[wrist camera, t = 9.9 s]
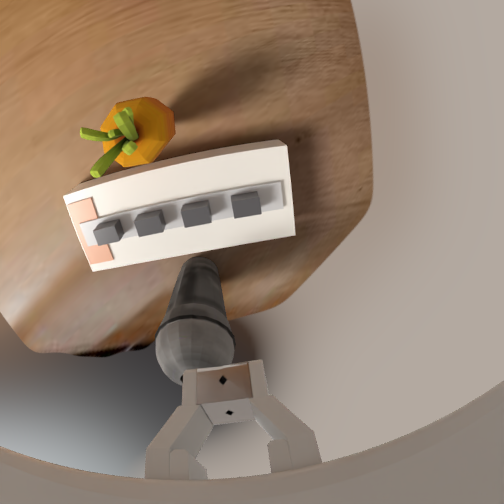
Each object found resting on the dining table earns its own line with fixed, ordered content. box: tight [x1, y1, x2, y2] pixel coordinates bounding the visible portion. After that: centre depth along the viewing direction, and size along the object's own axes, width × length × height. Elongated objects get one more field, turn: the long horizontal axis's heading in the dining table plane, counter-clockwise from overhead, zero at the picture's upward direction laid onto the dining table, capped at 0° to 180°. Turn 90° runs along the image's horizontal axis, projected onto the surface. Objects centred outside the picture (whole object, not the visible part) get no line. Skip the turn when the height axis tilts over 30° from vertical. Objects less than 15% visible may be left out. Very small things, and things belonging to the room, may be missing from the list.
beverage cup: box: [155, 257, 236, 386], centre depth 26 cm, size 7×7×20 cm
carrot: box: [80, 97, 175, 178], centre depth 19 cm, size 5×5×15 cm
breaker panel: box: [63, 139, 295, 272], centre depth 27 cm, size 9×22×6 cm, turn 98°
